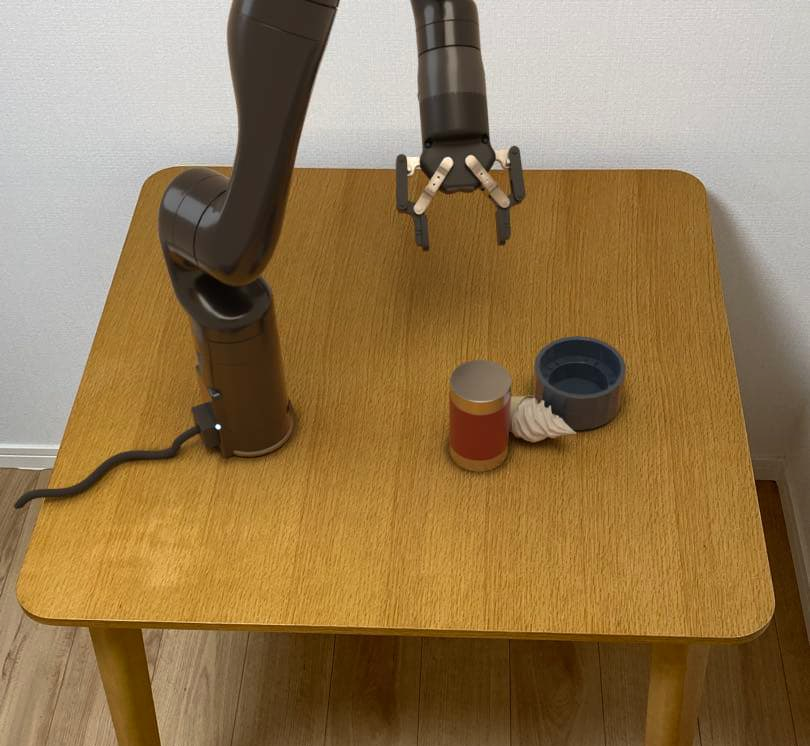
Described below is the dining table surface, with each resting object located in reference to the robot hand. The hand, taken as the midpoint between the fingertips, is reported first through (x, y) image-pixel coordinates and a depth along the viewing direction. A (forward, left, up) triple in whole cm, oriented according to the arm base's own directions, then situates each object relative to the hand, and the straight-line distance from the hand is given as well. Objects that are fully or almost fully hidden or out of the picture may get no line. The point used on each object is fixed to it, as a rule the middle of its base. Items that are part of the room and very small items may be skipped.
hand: (464, 247), depth 132 cm
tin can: (-5, -15, -17) cm, 23 cm away
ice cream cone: (-3, -7, -16) cm, 18 cm away
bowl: (+9, -13, -17) cm, 23 cm away
